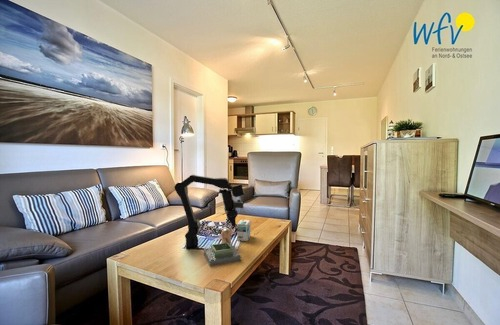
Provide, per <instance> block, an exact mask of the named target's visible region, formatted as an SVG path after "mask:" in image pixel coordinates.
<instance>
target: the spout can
mask: <svg viewBox="0 0 500 325" xmlns="http://www.w3.org/2000/svg"><path fill="white" fill-rule="evenodd" d="M234 233H235V232H234V230H232V229H231V228H228V227H225V228H222V230H221V243H227V242H228V243H229V244H231V245H232V234H234Z"/></svg>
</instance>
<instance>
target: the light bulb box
mask: <svg viewBox="0 0 500 325" xmlns="http://www.w3.org/2000/svg"><path fill="white" fill-rule="evenodd" d="M236 225H237V233H236V234H237V235H236V237H237V238H236V239H237V241H240V240H241V242H247V241H248V240H249V239H250V237H251V220H250V219H240V220H239V221H238V223H237V224H236Z"/></svg>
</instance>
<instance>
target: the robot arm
mask: <svg viewBox="0 0 500 325" xmlns="http://www.w3.org/2000/svg"><path fill="white" fill-rule="evenodd" d="M192 183H198V184H205V185H210V186H211V185H212V186H214V187H216V188H219V190H218V191H217V194H220V195H221V197H222V201H223V206H224V207H223V208H224V212H225V214H226V218H227V220H228V221H229V223H230V224H231V225H232V226H233V227H234V228H235V227H236V225H237V224H236V223H237V221H236V218H237V217H238V211H237V208H238V209H244V205H245V202H243V201H241V200H240V199H237V200H236V201H235V200H234V198H239V197H244V196H245V191H244V188H243V187H244V186H243V184H242V183H239V184H238V185H233V184H232V183H231V182H230V181H229V179H228V178H226V177H215V178H213V177H210V176H209V177H208V176H203V175H202V176H201V175H198V174H197V175H196V174H191V175H189V177H187V178H186V179H184V180H182V181H178V182H177V183H175V185H174V190H175V192H176V194H177V196H178V197H179V198H180V201H181V203H182V206H183V209H184V213H185V215H186V219H187V228H188V230H187V231H186V233H185V234H184V237H185V249H186V250H189V249H197V248H198V247H199V237H198V234H199V232H200V231H201V227H202V224H201V222H200V218H198V219H197V218H196V216H195V213H194V210H193V207H192V204H191V201H190V197H189V190H188V188H189V187H188V186H189V185H191V184H192Z"/></svg>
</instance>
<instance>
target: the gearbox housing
mask: <svg viewBox="0 0 500 325" xmlns="http://www.w3.org/2000/svg"><path fill="white" fill-rule="evenodd" d="M203 254H204V257H205V258H206V261H207V262H208V265H209V267H213V266H218V265H224V264H230V263H235V262H241V261H242V256H241V254H240V253H239V252H238V251H237V249H236V248H235V247H234V246H233V244H232V243H231V244H229V243H228V242H227V243H222V242H221V243H214V244H210V247H205V248H203Z"/></svg>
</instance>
